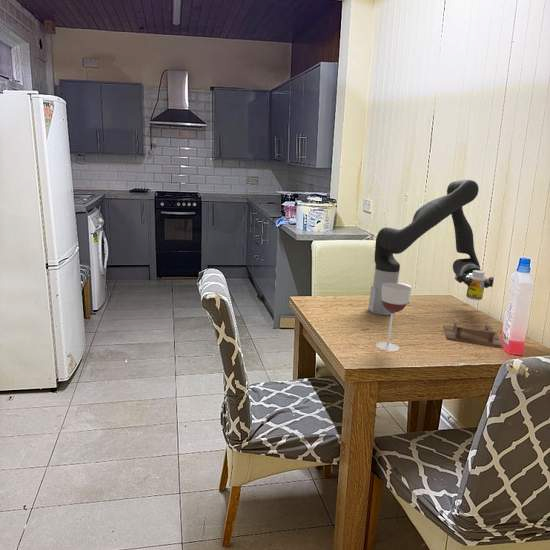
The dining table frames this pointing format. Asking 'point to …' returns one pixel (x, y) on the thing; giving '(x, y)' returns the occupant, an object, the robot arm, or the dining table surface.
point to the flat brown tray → (472, 334)
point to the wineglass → (393, 307)
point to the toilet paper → (410, 291)
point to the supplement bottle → (476, 285)
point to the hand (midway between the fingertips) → (477, 284)
